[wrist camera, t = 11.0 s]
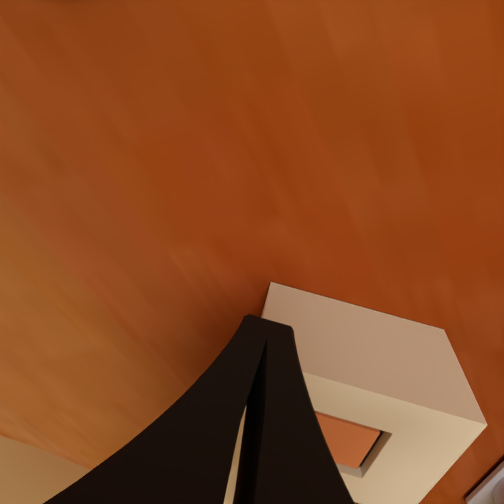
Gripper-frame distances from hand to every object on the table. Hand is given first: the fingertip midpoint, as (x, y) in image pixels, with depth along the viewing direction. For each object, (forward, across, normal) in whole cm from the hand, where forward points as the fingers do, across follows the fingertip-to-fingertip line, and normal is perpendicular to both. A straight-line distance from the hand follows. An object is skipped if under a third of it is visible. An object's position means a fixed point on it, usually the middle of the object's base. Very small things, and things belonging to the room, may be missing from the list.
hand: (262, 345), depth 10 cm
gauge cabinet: (+9, -5, +8) cm, 13 cm away
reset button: (+6, -5, +8) cm, 11 cm away
